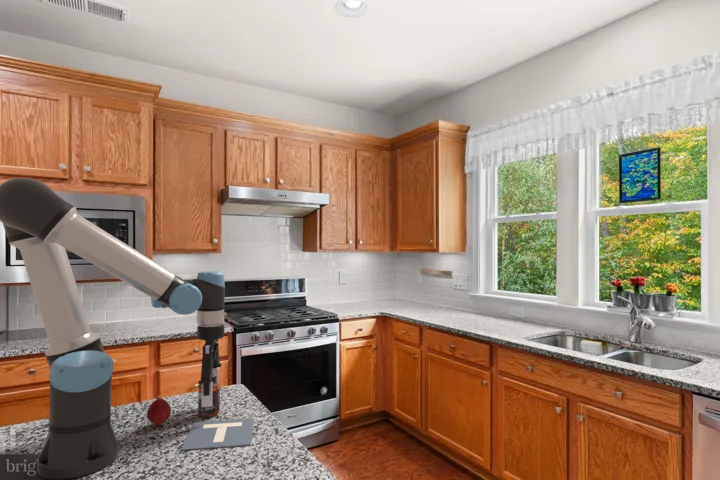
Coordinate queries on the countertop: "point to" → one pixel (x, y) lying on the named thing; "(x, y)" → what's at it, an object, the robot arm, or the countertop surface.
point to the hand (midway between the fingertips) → (210, 397)
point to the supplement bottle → (215, 406)
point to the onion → (158, 411)
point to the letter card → (219, 434)
